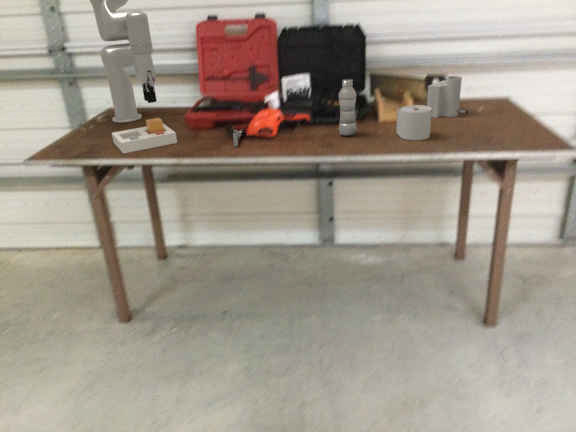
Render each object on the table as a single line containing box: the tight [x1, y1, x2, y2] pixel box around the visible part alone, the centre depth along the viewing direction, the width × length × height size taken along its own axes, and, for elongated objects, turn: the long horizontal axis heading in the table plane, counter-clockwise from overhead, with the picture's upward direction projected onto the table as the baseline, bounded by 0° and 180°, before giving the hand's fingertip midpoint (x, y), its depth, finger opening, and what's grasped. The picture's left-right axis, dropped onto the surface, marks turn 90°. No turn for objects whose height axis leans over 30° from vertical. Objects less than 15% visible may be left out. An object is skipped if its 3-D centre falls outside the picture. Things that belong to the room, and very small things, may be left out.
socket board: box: [111, 123, 178, 154], centre depth 193 cm, size 16×20×5 cm
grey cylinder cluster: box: [426, 75, 469, 119], centre depth 202 cm, size 12×14×15 cm
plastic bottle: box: [338, 78, 357, 136], centre depth 184 cm, size 6×7×20 cm
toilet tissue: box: [395, 104, 432, 141], centre depth 181 cm, size 11×12×10 cm
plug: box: [145, 117, 164, 134], centre depth 194 cm, size 5×5×8 cm
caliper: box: [232, 129, 242, 148], centre depth 190 cm, size 20×1×6 cm, turn 175°
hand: (150, 100), depth 189 cm, fingers open, 3 cm apart
